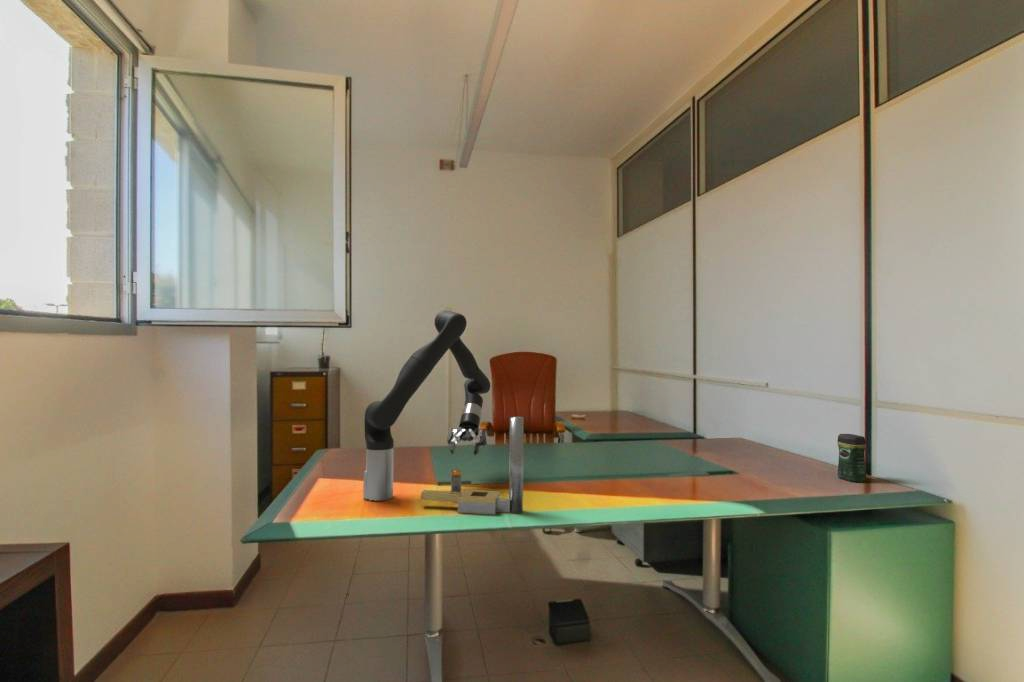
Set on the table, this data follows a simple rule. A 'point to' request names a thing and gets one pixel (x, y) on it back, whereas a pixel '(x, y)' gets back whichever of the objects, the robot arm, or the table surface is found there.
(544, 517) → the table surface
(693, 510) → the table surface
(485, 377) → the robot arm
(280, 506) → the table surface
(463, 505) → the grey l-shaped piece
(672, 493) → the table surface
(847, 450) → the coffee jar
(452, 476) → the wedge pin
